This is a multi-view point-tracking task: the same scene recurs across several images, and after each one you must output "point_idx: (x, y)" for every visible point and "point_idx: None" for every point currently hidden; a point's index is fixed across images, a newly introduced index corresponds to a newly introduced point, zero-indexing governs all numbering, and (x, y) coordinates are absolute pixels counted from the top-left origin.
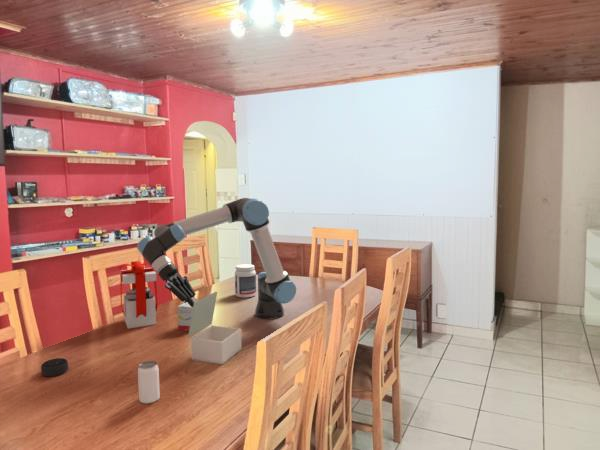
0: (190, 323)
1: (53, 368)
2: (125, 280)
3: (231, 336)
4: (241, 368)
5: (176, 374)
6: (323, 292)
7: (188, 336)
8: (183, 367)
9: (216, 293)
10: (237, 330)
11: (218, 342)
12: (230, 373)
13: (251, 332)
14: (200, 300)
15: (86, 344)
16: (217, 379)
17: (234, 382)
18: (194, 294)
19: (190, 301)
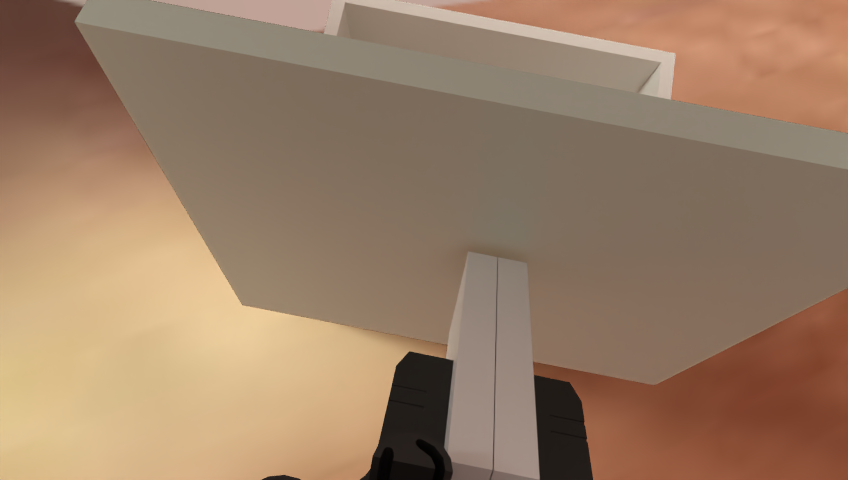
0: (732, 345)
1: None
2: None
3: (513, 26)
4: (631, 15)
5: (814, 373)
6: None
7: (656, 382)
8: (706, 371)
9: (129, 14)
10: (377, 8)
11: (670, 86)
12: (709, 56)
13: (2, 95)
14: (814, 127)
15: None
16: (800, 103)
17: (805, 8)
18: (399, 455)
19: (590, 463)
